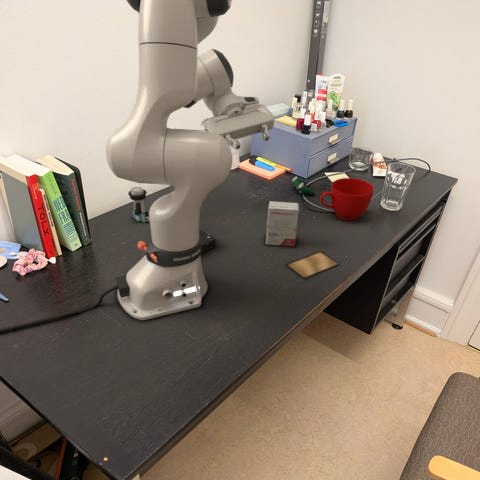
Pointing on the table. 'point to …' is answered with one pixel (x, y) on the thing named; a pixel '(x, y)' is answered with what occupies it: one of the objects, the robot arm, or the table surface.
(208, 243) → the disk drive
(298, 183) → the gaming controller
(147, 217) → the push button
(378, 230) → the table surface
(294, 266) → the gold rectangular plate
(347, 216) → the ceramic cup
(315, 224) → the table surface
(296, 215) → the ink box
